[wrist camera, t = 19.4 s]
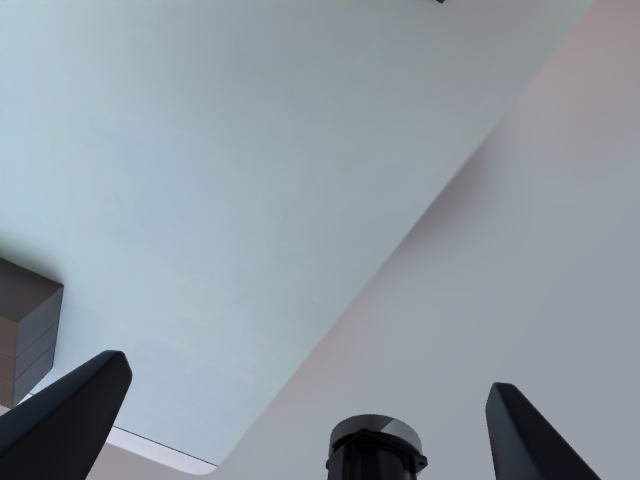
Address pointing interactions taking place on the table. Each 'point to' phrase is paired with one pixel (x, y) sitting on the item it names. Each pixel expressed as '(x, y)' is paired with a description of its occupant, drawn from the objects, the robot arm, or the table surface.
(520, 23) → the table surface
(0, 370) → the holder
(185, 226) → the table surface
